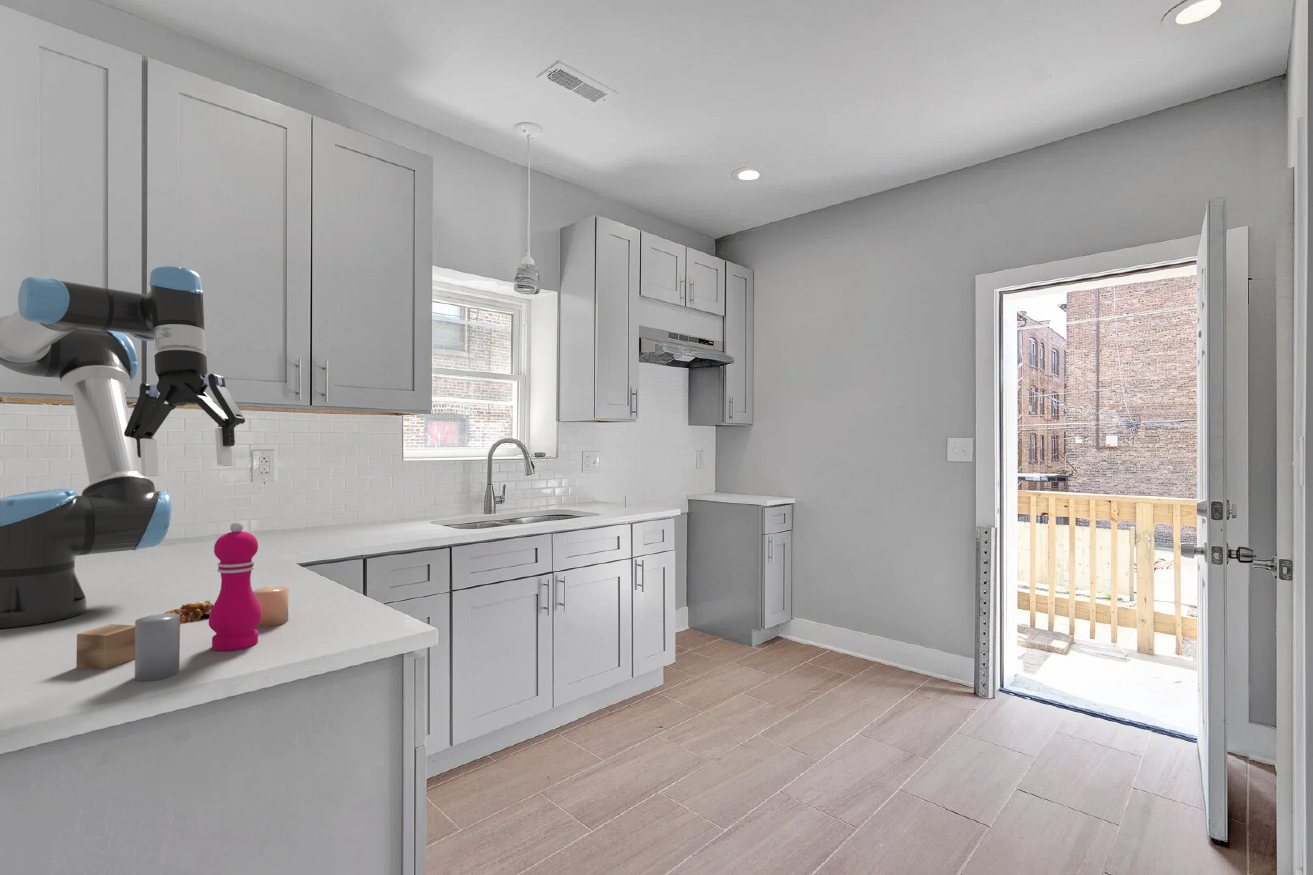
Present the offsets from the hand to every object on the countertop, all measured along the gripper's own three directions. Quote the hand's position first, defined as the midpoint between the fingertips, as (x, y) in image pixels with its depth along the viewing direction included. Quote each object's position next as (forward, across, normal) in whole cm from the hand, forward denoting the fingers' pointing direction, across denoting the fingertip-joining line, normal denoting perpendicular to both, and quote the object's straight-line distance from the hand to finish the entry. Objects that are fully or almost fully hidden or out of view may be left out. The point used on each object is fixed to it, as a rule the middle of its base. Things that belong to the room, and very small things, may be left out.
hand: (187, 470), depth 112 cm
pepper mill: (+30, +11, -6) cm, 33 cm away
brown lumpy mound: (+27, -9, +8) cm, 29 cm away
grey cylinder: (+31, +9, -19) cm, 37 cm away
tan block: (+29, -2, -14) cm, 33 cm away
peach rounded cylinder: (+29, +8, +7) cm, 31 cm away
